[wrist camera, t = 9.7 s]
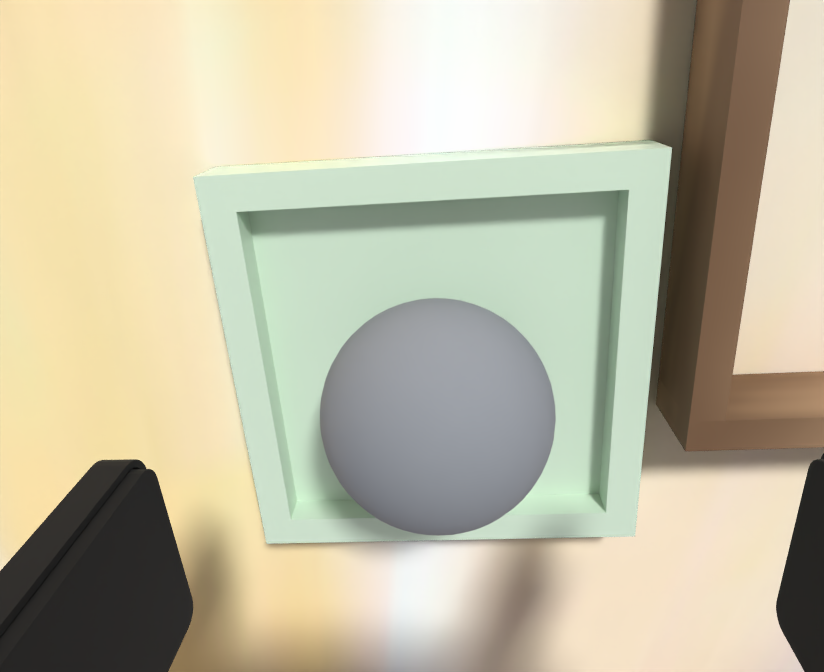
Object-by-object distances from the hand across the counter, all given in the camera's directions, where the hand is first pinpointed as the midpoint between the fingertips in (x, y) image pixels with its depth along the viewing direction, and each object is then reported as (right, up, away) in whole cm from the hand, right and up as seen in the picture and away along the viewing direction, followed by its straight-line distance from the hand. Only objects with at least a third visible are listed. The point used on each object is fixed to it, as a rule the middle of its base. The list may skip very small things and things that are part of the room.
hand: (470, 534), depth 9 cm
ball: (0, +1, +4) cm, 5 cm away
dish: (0, +2, +7) cm, 8 cm away
